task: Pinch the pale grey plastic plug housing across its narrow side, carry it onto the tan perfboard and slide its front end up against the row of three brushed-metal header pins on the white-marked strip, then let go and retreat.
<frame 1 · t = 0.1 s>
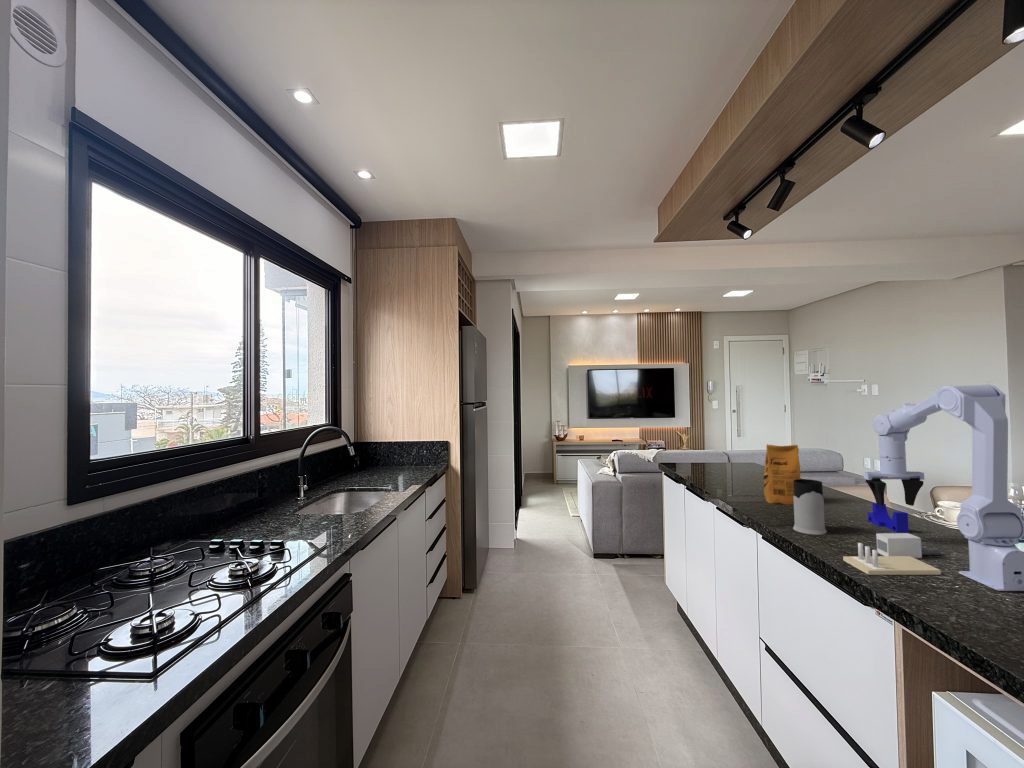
hand: (894, 504, 128), 10 cm above the worktop, fingers open, 7 cm apart
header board: (889, 567, 110), on the worktop
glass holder: (806, 528, 142), on the worktop
cable clip: (887, 527, 140), on the worktop
coffee package: (782, 502, 173), on the worktop
plug housing: (899, 555, 117), on the worktop
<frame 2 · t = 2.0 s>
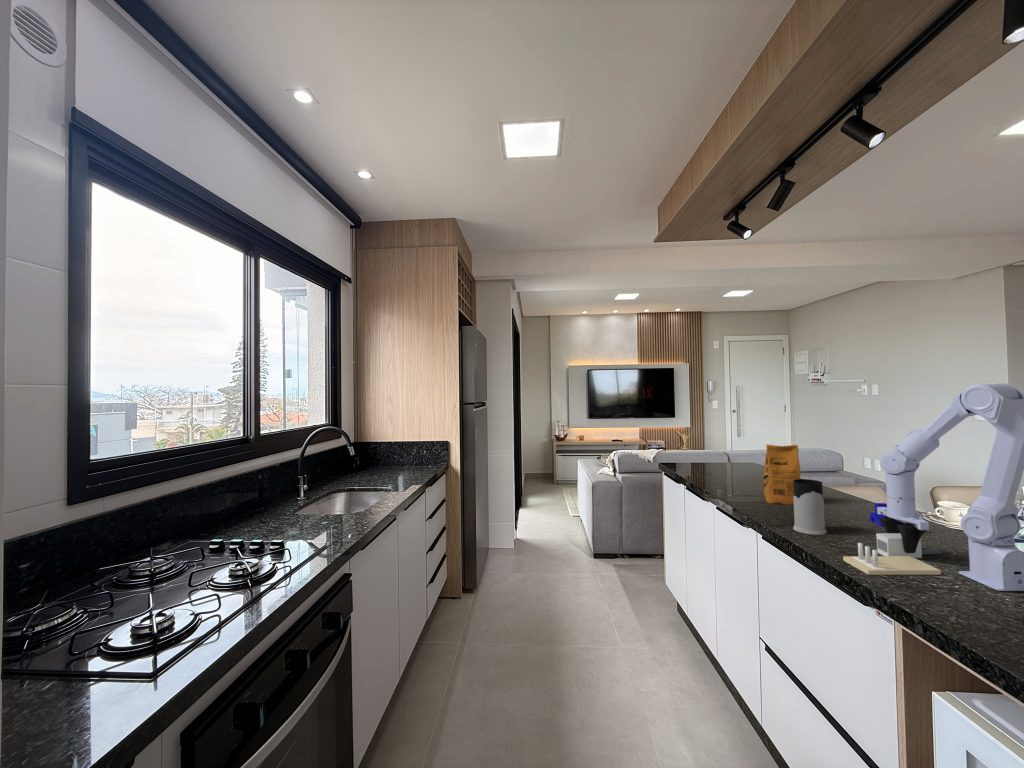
hand: (903, 549, 117), 1 cm above the worktop, fingers closed on plug housing, 4 cm apart
plug housing: (899, 555, 117), on the worktop, touching gripper
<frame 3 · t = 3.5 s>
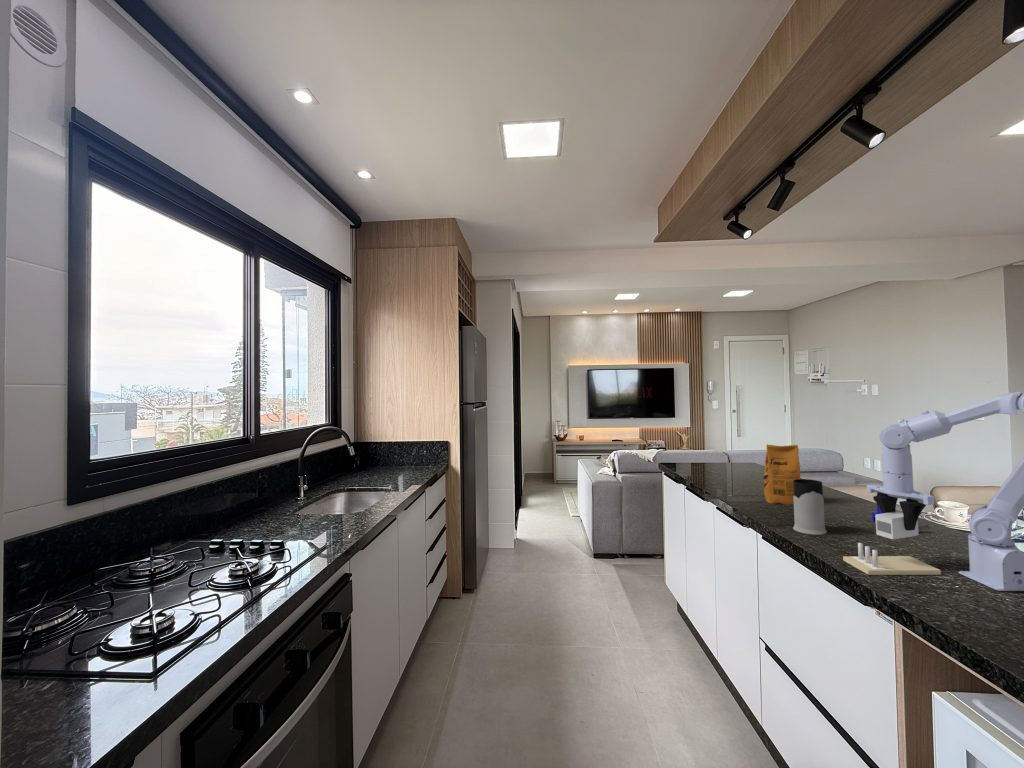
hand: (900, 527, 112), 9 cm above the worktop, fingers closed on plug housing, 4 cm apart
plug housing: (897, 534, 112), point 7 cm above the worktop, touching gripper
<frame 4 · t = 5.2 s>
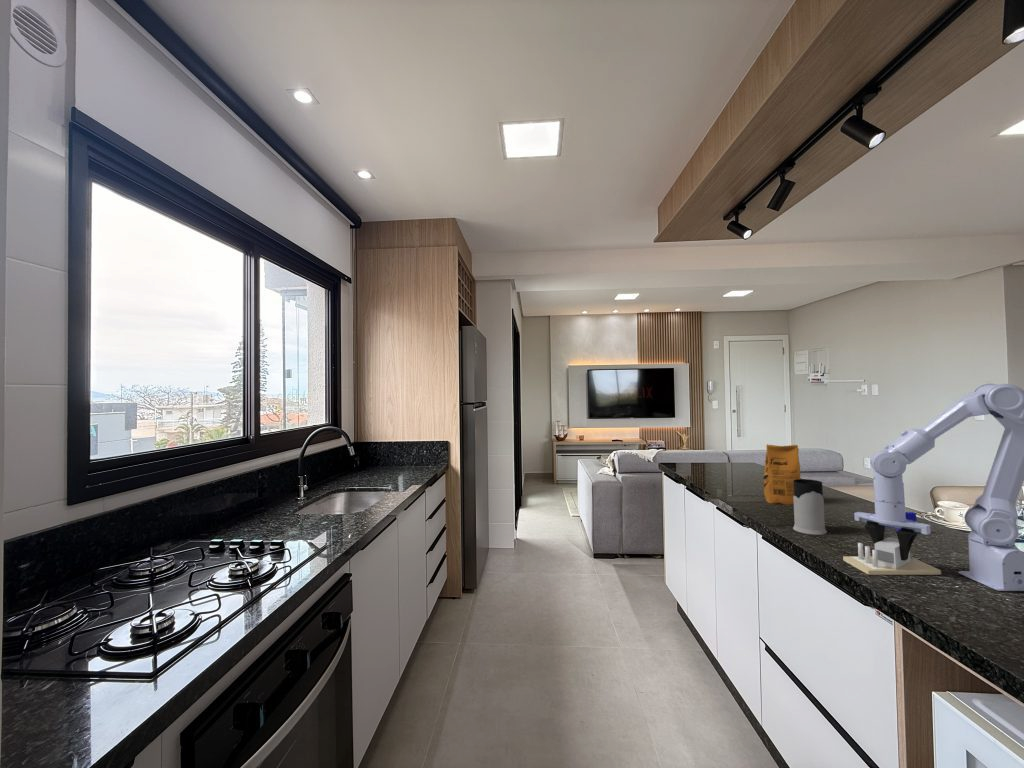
hand: (892, 556, 110), 3 cm above the worktop, fingers closed on plug housing, 4 cm apart
plug housing: (893, 563, 110), point 1 cm above the worktop, touching gripper, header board
when the fingers open (3 cm above the worktop, at t = 5.2 s): plug housing stays where it is, resting on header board.
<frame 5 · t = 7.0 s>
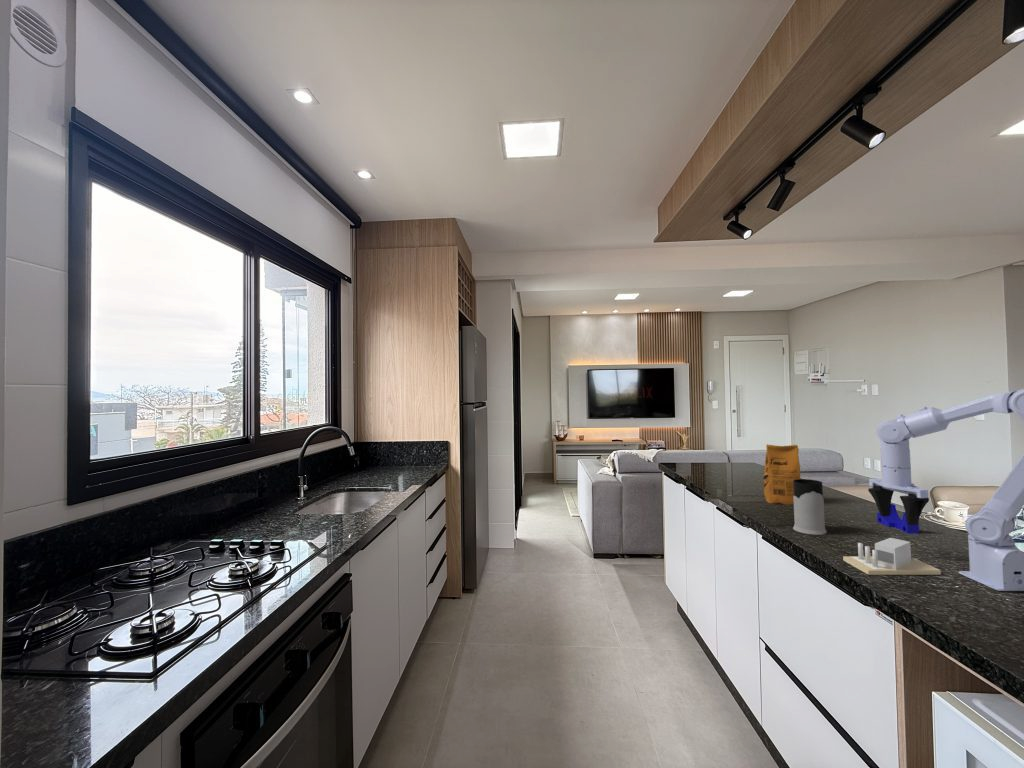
hand: (898, 520, 115), 10 cm above the worktop, fingers open, 7 cm apart
plug housing: (893, 563, 110), point 1 cm above the worktop, touching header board
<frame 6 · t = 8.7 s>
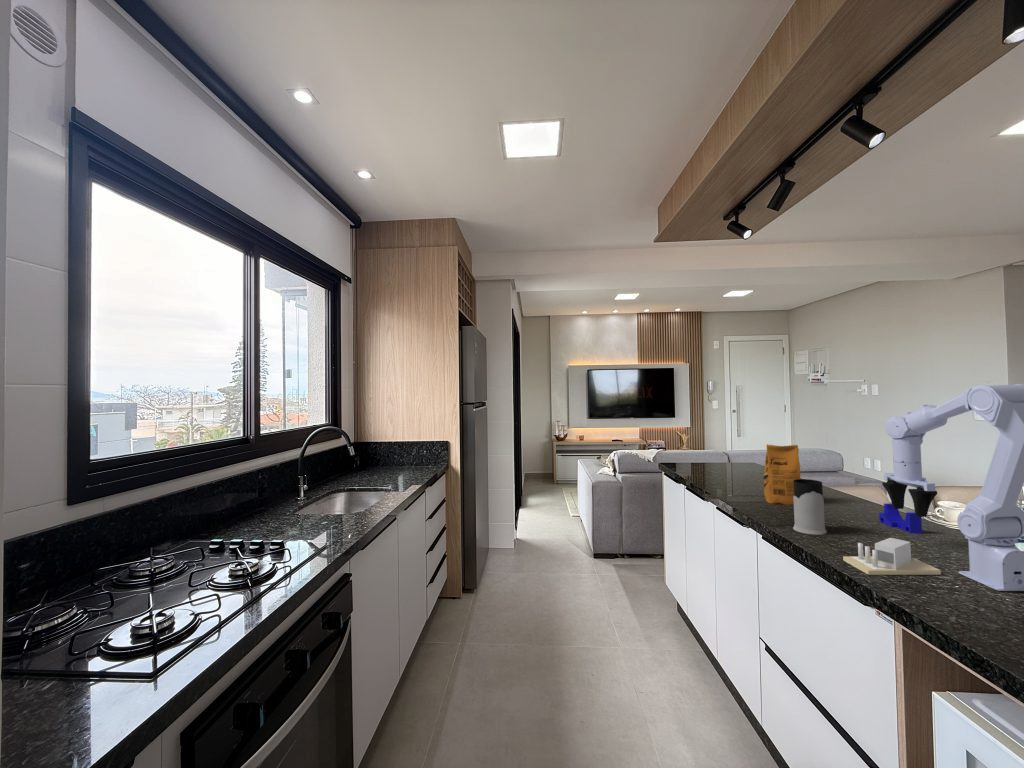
hand: (909, 512, 121), 10 cm above the worktop, fingers open, 7 cm apart
at the end: plug housing 0.5 cm off-centre on the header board, point 1.0 cm above the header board's base; plug housing tilted 0°; the gripper is holding nothing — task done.
